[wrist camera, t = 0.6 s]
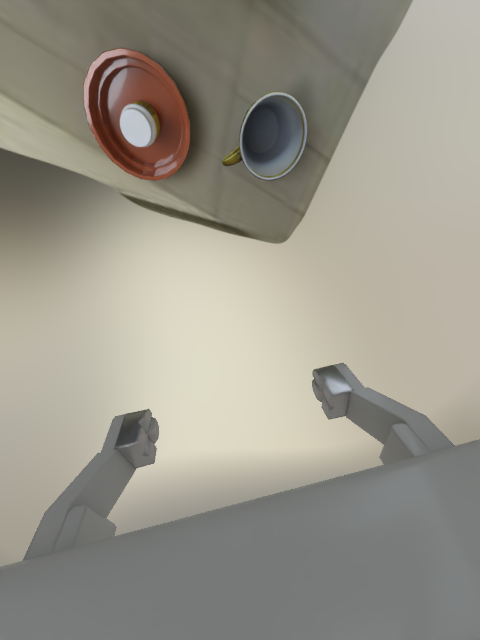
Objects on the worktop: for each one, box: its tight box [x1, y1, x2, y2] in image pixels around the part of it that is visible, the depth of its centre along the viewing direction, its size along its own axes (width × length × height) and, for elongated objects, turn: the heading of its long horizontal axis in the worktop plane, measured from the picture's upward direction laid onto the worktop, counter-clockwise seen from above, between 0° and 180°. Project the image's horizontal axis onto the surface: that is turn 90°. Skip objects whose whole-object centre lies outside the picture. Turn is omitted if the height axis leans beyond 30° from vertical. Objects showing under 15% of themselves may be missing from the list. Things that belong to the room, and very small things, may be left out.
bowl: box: [84, 48, 190, 181], centre depth 34 cm, size 14×14×5 cm
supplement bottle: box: [120, 101, 160, 147], centre depth 33 cm, size 5×5×8 cm
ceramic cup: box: [222, 92, 307, 180], centre depth 36 cm, size 13×10×10 cm
